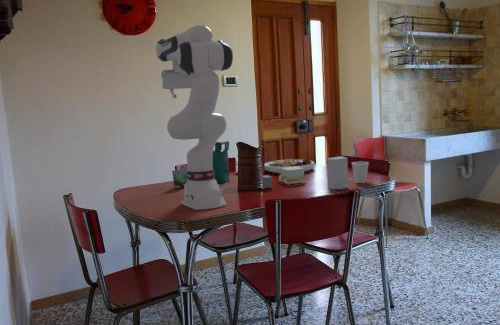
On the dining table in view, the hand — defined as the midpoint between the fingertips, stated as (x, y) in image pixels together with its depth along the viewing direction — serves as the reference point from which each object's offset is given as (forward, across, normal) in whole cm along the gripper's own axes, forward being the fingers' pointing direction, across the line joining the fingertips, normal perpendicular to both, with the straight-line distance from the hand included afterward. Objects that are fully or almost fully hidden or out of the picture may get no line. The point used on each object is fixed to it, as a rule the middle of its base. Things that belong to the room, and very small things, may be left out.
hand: (184, 97), depth 216 cm
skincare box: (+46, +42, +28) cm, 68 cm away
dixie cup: (+47, +76, -39) cm, 97 cm away
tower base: (+47, +49, -18) cm, 70 cm away
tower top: (+43, +49, -18) cm, 68 cm away
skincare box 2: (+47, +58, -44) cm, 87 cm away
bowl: (+47, +67, +16) cm, 84 cm away
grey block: (+46, +32, -21) cm, 60 cm away
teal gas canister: (+46, +21, +10) cm, 52 cm away
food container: (+46, -1, +9) cm, 47 cm away
